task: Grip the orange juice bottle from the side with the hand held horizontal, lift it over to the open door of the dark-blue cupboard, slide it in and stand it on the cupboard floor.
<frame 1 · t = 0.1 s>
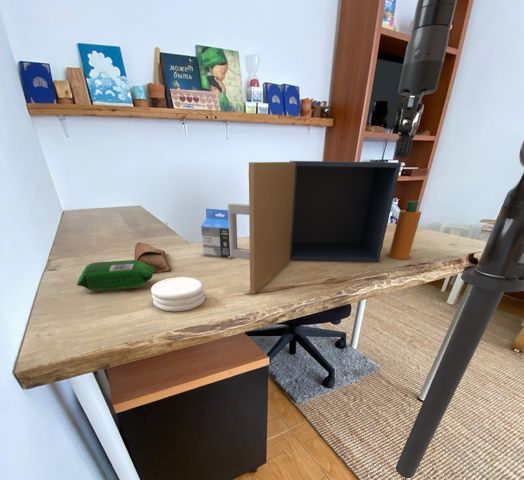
hand: (401, 157, 69), 25 cm above the table, tool pointing down, fingers open, 8 cm apart
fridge: (327, 253, 91), on the table
fridge door: (263, 223, 67), point 12 cm above the table, hinge at 110.0°
coaster: (180, 302, 59), on the table
juice bottle: (398, 256, 89), on the table
snack package: (121, 287, 66), on the table
sunglasses case: (152, 263, 81), on the table
tape cartridge: (219, 256, 88), on the table
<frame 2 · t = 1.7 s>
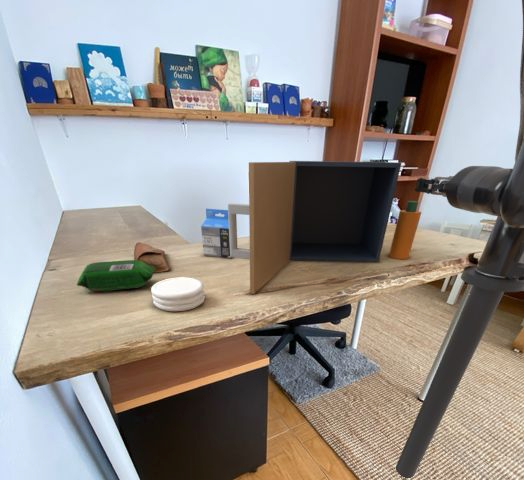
hand: (438, 183, 69), 20 cm above the table, tool horizontal, fingers open, 8 cm apart
nothing on the table moved.
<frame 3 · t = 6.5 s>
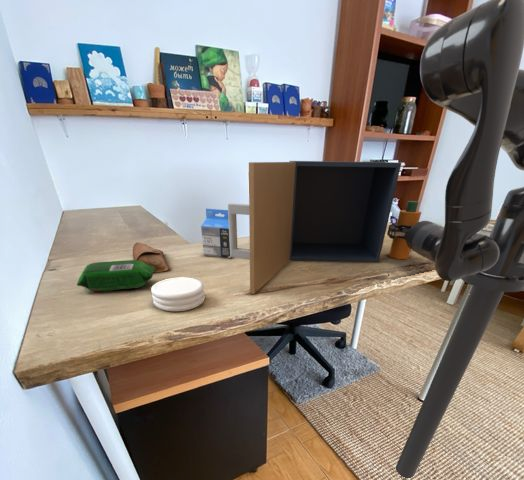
hand: (402, 226, 87), 8 cm above the table, tool horizontal, fingers closed on juice bottle, 5 cm apart
juice bottle: (398, 256, 89), on the table, touching gripper
everything else where it was.
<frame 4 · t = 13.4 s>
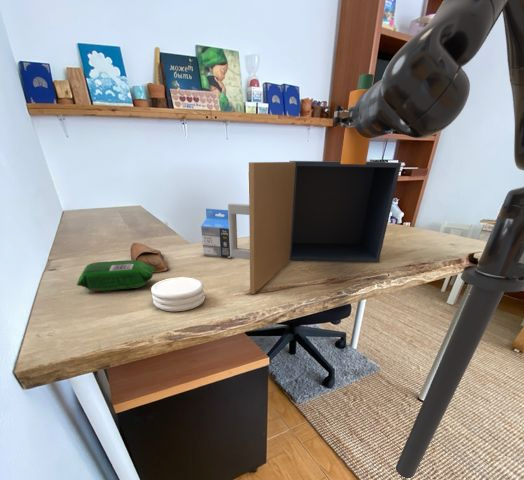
hand: (356, 121, 64), 32 cm above the table, tool horizontal, fingers closed on juice bottle, 5 cm apart
juice bottle: (353, 164, 67), point 24 cm above the table, touching gripper
everything else where it was.
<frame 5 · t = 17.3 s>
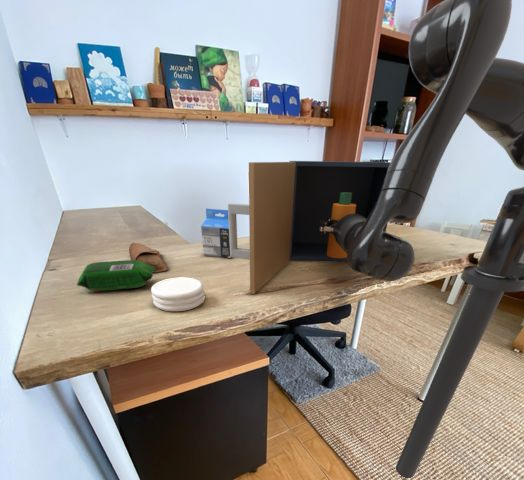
hand: (339, 222, 77), 11 cm above the table, tool horizontal, fingers closed on juice bottle, 5 cm apart
juice bottle: (337, 255, 79), point 3 cm above the table, touching gripper
when the fingers open (9 cm above the table, at t = 20.6 s): juice bottle stays where it is, resting on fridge.
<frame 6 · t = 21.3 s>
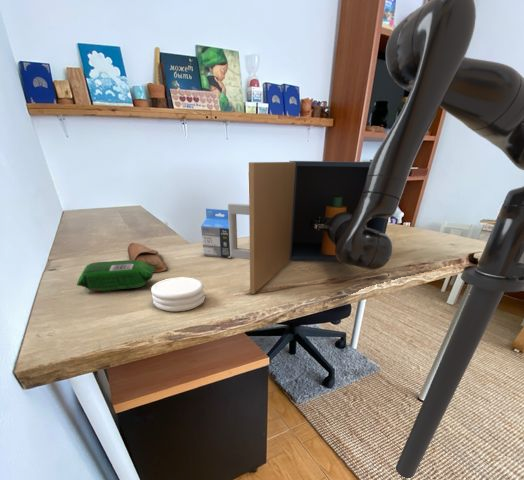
hand: (333, 219, 85), 10 cm above the table, tool horizontal, fingers open, 8 cm apart
juice bottle: (330, 252, 88), point 1 cm above the table, touching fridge
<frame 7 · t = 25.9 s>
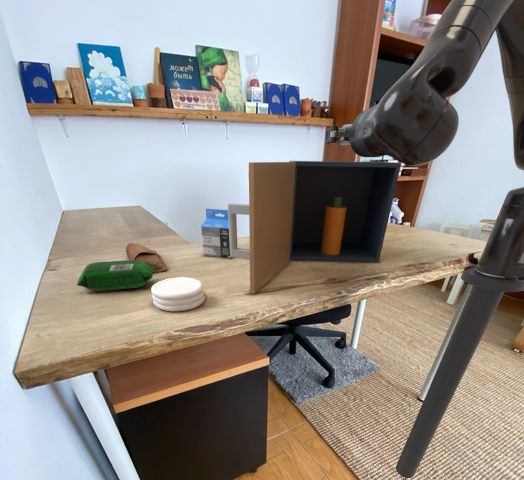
hand: (354, 137, 65), 29 cm above the table, tool horizontal, fingers open, 8 cm apart
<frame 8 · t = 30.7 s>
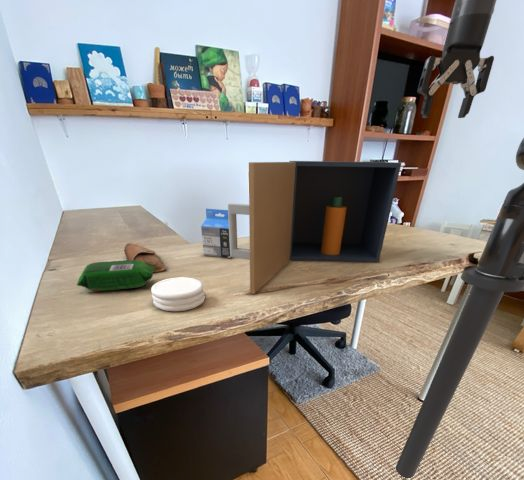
hand: (443, 117, 70), 33 cm above the table, tool pointing down, fingers open, 8 cm apart
at the end: juice bottle inside the target area in the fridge (1.4 cm from its centre), point 1.0 cm above the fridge's base; juice bottle tilted 0°; the gripper is holding nothing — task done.
